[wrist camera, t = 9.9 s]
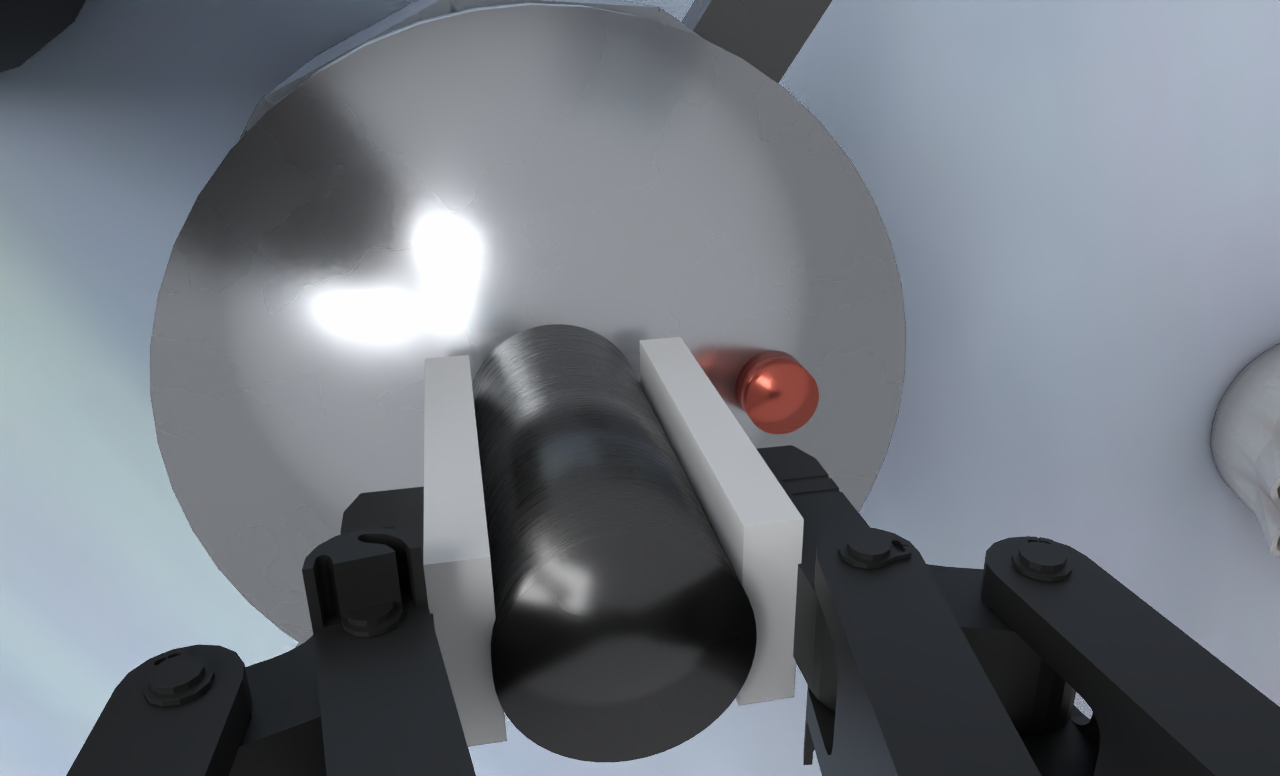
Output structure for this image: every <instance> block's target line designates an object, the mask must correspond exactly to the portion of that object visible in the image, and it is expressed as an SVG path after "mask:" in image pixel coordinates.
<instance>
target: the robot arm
mask: <svg viewBox="0 0 1280 776" xmlns="http://www.w3.org/2000/svg"><path fill="white" fill-rule="evenodd" d="M640 384H641V386H642V388H643V390H644V392H645V394H646V396H647V398H648V400H649V402H650V404H651V406H652V408H653V410H654V412H655V414H656V416H657V418H658V420H659V422H660V424H661V426H662V428H663V430H664V432H665V434H666V436H667V438H668V440H669V442H670V444H671V446H672V448H673V450H674V452H675V454H676V456H677V458H678V460H679V462H680V464H681V466H682V468H683V470H684V472H685V473H686V475H687V477H688V479H689V481H690V483H691V485H692V487H693V489H694V491H695V493H696V495H697V497H698V499H699V501H700V503H701V505H702V507H703V509H704V511H705V513H706V515H707V517H708V519H709V521H710V523H711V525H712V527H713V529H714V531H715V533H716V535H717V537H718V539H719V541H720V543H721V545H722V547H723V549H724V551H725V553H726V555H727V557H728V559H729V561H730V563H731V565H732V567H733V569H734V570H735V572H736V574H737V576H738V578H739V580H740V582H741V584H742V586H743V588H744V590H745V592H746V594H747V596H748V598H749V601H750V603H751V606H752V609H753V612H754V616H755V621H756V631H757V642H756V651H755V656H754V660H753V663H752V667H751V670H750V672H749V674H748V677H747V679H746V681H745V683H744V685H743V687H742V688H741V690H740V692H739V694H738V695H737V696H736V700H737V702H738V705H746V704H752V703H759V702H766V701H772V700H779V699H786V698H792V697H794V687H795V669H796V663H797V665H798V667H799V669H800V671H801V672H802V674H803V676H804V678H805V680H806V682H807V684H808V691H807V707H806V723H805V739H804V765H812V759H813V751H814V750H815V751H816V755H817V759H818V762H819V766H820V770H821V773H822V776H1280V707H1279V706H1278V705H1276V704H1275V703H1274V702H1272V701H1271V700H1270V699H1269V698H1267V697H1266V696H1265V695H1263V694H1262V693H1261V692H1260V691H1258V690H1257V689H1256V688H1254V687H1253V686H1252V685H1251V684H1249V683H1248V682H1247V681H1246V680H1244V679H1243V678H1242V677H1240V676H1239V675H1238V674H1237V673H1235V672H1234V671H1233V670H1231V669H1230V668H1229V667H1228V666H1226V665H1225V664H1224V663H1222V662H1221V661H1220V660H1219V659H1217V658H1216V657H1215V656H1213V655H1212V654H1211V653H1210V652H1208V651H1207V650H1206V649H1205V648H1203V647H1202V646H1201V645H1199V644H1198V643H1197V642H1196V641H1194V640H1193V639H1192V638H1190V637H1189V636H1188V635H1187V634H1185V633H1184V632H1183V631H1181V630H1180V629H1179V628H1178V627H1176V626H1175V625H1174V624H1173V623H1171V622H1170V621H1169V620H1167V619H1166V618H1165V617H1164V616H1162V615H1161V614H1160V613H1158V612H1157V611H1156V610H1155V609H1153V608H1152V607H1151V606H1149V605H1148V604H1147V603H1146V602H1144V601H1143V600H1142V599H1140V598H1139V597H1138V596H1137V595H1135V594H1134V593H1133V592H1132V591H1130V590H1129V589H1128V588H1126V587H1125V586H1124V585H1123V584H1121V583H1120V582H1119V581H1117V580H1116V579H1115V578H1114V577H1112V576H1111V575H1110V574H1108V573H1107V572H1106V571H1105V570H1103V569H1102V568H1101V567H1099V566H1098V565H1097V564H1096V563H1094V562H1093V561H1092V560H1091V559H1089V558H1088V557H1087V556H1085V555H1083V554H1082V553H1080V552H1078V551H1077V550H1075V549H1073V548H1071V547H1070V546H1067V545H1064V544H1061V543H1058V542H1055V541H1053V540H1050V539H1046V538H1041V537H1040V538H1037V537H1029V536H1027V537H1014V538H1007V539H1004V540H1001V541H998V542H996V543H994V544H993V545H992V546H991V547H990V548H989V549H988V550H987V551H986V557H985V564H984V569H969V568H955V567H943V566H936V565H929V564H925V562H924V560H923V558H922V556H921V554H920V553H919V551H918V550H917V549H916V548H915V547H914V546H913V545H912V544H911V543H910V542H909V541H907V540H905V539H904V538H902V537H900V536H898V535H896V534H894V533H891V532H887V531H883V530H880V529H876V528H870V527H869V526H868V524H867V523H866V522H865V520H864V519H863V518H862V517H861V515H860V514H859V513H858V512H857V510H856V509H855V508H854V506H853V505H852V504H851V503H850V501H849V500H848V499H847V498H846V496H845V495H844V494H843V492H840V491H839V487H838V486H837V485H836V483H835V482H834V481H833V480H832V478H829V475H828V473H827V472H826V471H825V469H824V468H823V467H822V466H821V464H820V463H819V462H818V461H817V459H816V458H814V457H813V456H811V455H809V454H807V453H805V452H804V451H802V450H800V449H798V448H796V447H795V446H793V445H786V446H777V447H767V448H758V449H756V448H755V446H754V445H753V443H752V442H751V440H750V439H749V437H748V436H747V434H746V433H745V432H744V430H743V429H742V427H741V426H740V424H739V423H738V421H737V420H736V418H735V417H734V415H733V414H732V412H731V411H730V409H729V408H728V406H727V405H726V403H725V402H724V400H723V399H722V398H721V396H720V395H719V393H718V392H717V390H716V389H715V387H714V386H713V384H712V383H711V381H710V380H709V378H708V377H707V375H706V374H705V372H704V371H703V369H702V368H701V366H700V365H699V363H698V362H697V361H696V359H695V358H694V356H693V355H692V353H691V352H690V350H689V349H688V347H687V346H686V344H685V343H684V341H683V340H682V338H681V337H674V338H662V339H650V340H640ZM340 534H341V535H337V536H335V537H333V538H331V539H329V540H327V541H325V542H323V543H322V544H320V545H318V546H317V547H316V548H315V549H314V550H313V551H312V552H311V553H310V554H309V555H308V556H307V557H306V558H305V561H304V564H303V568H302V574H303V580H304V585H305V591H306V597H307V602H308V608H309V613H310V619H311V624H312V630H313V636H311V637H310V638H309V639H308V640H307V641H306V642H304V643H303V644H301V645H299V646H297V647H296V648H294V649H292V650H291V651H289V652H286V653H284V654H282V655H279V656H277V657H274V658H272V659H269V660H266V661H263V662H260V663H257V664H254V665H251V666H248V667H245V665H244V663H243V661H242V660H241V659H240V657H239V656H238V654H237V653H236V652H234V651H232V650H229V649H227V648H224V647H222V646H215V645H194V646H188V647H183V648H178V649H173V650H170V651H168V652H165V653H162V654H160V655H158V656H156V657H153V658H151V659H149V660H147V661H146V662H144V663H143V664H141V665H140V666H138V667H137V668H135V669H134V670H132V671H131V672H129V673H128V674H127V675H126V677H125V678H124V679H123V680H122V681H121V682H120V684H119V685H118V686H117V687H116V688H115V690H114V692H113V693H112V695H111V697H110V699H109V701H108V702H107V704H106V706H105V708H104V709H103V711H102V713H101V715H100V717H99V718H98V720H97V722H96V724H95V726H94V727H93V729H92V731H91V733H90V734H89V736H88V738H87V740H86V742H85V743H84V745H83V747H82V749H81V750H80V752H79V754H78V756H77V758H76V759H75V761H74V763H73V765H72V767H71V768H70V770H69V772H68V774H67V775H66V776H476V775H475V771H474V768H473V764H472V761H471V757H470V753H469V750H468V747H469V746H476V745H483V744H489V743H496V742H502V741H507V738H506V727H505V715H504V710H503V708H502V706H501V705H500V702H499V700H498V697H497V694H496V691H495V687H494V681H493V675H492V664H491V637H492V630H493V626H494V622H495V619H496V615H495V604H494V593H493V582H492V571H491V560H490V550H489V540H488V531H487V522H486V512H485V503H484V493H483V484H482V474H481V465H480V455H479V446H478V436H477V427H476V418H475V408H474V399H473V389H472V380H471V370H470V361H469V355H462V356H450V357H438V358H427V359H425V404H424V486H423V487H414V488H404V489H395V490H386V491H376V492H367V493H360V494H359V496H358V497H357V498H356V499H355V500H354V501H353V502H352V503H351V504H350V505H349V507H348V508H347V509H346V510H345V511H344V512H343V518H342V525H341V531H340ZM1076 692H1077V693H1078V694H1079V695H1080V696H1081V697H1082V698H1083V699H1084V700H1085V701H1086V702H1087V704H1088V705H1089V706H1090V707H1091V709H1092V711H1093V715H1092V718H1091V720H1090V719H1089V718H1087V717H1086V716H1085V715H1083V714H1082V713H1081V712H1080V711H1079V710H1078V709H1077V708H1076V707H1075V706H1074V705H1073V704H1074V699H1075V694H1076Z"/></svg>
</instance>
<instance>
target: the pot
mask: <svg viewBox="0 0 1280 776" xmlns="http://www.w3.org/2000/svg"><path fill="white" fill-rule="evenodd" d="M831 1H832V0H695V1H694V3H693V4H692V6H691V8H690V9H689V11H688V13H687V14H686V16H685V17H684V19H683V21H682V22H680V21H678V20H677V19H676V18H674V17H673V16H671V15H670V14H669V13H667V12H666V11H665V10H663V9H662V8H659V7H654V6H649V5H643V4H637V3H632V2H626V1H621V0H416V1H414V2H412V3H411V4H409V5H407V6H405V7H403V8H402V9H400V10H398V11H396V12H394V13H393V14H391V15H389V16H387V17H385V18H384V19H382V20H380V21H378V22H376V23H375V24H373V25H371V26H369V27H367V28H366V29H364V30H362V31H360V32H358V33H356V34H355V35H353V36H351V37H349V38H347V39H346V40H344V41H342V42H340V43H338V44H337V45H335V46H333V47H331V48H329V49H328V50H326V51H324V52H322V53H320V54H319V55H317V56H315V57H314V58H313V59H311V60H310V61H309V62H307V63H306V64H305V65H304V66H302V67H301V68H300V69H299V70H297V71H296V72H295V73H293V74H292V75H291V76H290V77H288V78H287V79H286V80H285V81H283V82H282V83H281V84H279V85H278V86H277V87H276V88H274V89H273V90H272V91H271V92H269V93H268V94H267V95H265V96H264V97H263V98H262V99H261V100H260V101H259V102H258V104H257V106H256V108H255V110H254V112H253V114H252V116H251V118H250V120H249V122H248V123H247V125H246V127H245V129H244V131H243V133H242V135H241V137H240V139H239V141H240V140H241V139H242V138H243V137H244V136H245V134H246V133H247V132H248V131H249V130H250V129H251V128H252V127H253V126H254V125H255V124H256V123H257V122H258V121H259V120H260V119H261V118H262V117H263V115H264V114H265V113H266V112H267V111H268V110H269V109H270V108H272V107H273V106H274V105H275V104H276V103H277V102H278V101H280V100H281V99H282V98H283V97H285V96H286V95H287V94H289V93H290V92H291V91H292V90H294V89H295V88H296V87H297V86H299V85H300V84H301V83H303V82H304V81H305V80H306V79H308V78H309V77H310V76H311V75H313V74H314V73H315V72H317V71H318V70H319V69H321V68H322V67H324V66H326V65H328V64H329V63H331V62H333V61H334V60H336V59H338V58H340V57H341V56H343V55H345V54H347V53H348V52H350V51H352V50H354V49H355V48H357V47H359V46H361V45H362V44H364V43H366V42H368V41H370V40H373V39H375V38H378V37H380V36H383V35H385V34H388V33H390V32H393V31H395V30H398V29H400V28H403V27H405V26H408V25H410V24H413V23H415V22H418V21H421V20H425V19H430V18H434V17H438V16H442V15H446V14H450V13H454V12H458V11H463V10H467V9H471V8H479V7H489V6H499V5H510V4H520V3H542V4H565V5H582V6H588V7H593V8H599V9H604V10H609V11H615V12H620V13H625V14H631V15H635V16H640V17H644V18H647V19H650V20H653V21H656V22H659V23H662V24H665V25H667V26H670V27H673V28H676V29H679V30H682V31H685V32H688V33H691V34H694V35H697V36H699V37H701V38H703V39H704V40H706V41H708V42H710V43H712V44H714V45H716V46H718V47H720V48H722V49H724V50H726V51H728V52H730V53H732V54H734V55H736V56H738V57H740V58H742V59H744V60H745V61H746V62H748V63H749V64H751V65H752V66H754V67H755V68H756V69H758V70H759V71H761V72H762V73H764V74H765V75H766V76H768V77H769V78H771V79H772V80H774V81H775V82H776V83H779V81H780V80H781V78H782V77H783V75H784V74H785V72H786V70H787V69H788V67H789V66H790V64H791V63H792V61H793V60H794V58H795V57H796V55H797V54H798V52H799V51H800V49H801V47H802V46H803V44H804V43H805V41H806V40H807V38H808V37H809V35H810V34H811V32H812V31H813V29H814V28H815V26H816V24H817V23H818V21H819V20H820V18H821V17H822V15H823V14H824V12H825V11H826V9H827V8H828V6H829V5H830V3H831ZM239 141H238V142H239ZM299 645H301V643H300V642H299V643H298V645H297V646H299ZM297 646H296V647H297Z"/></svg>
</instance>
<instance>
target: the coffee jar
mask: <svg viewBox="0 0 1280 776" xmlns="http://www.w3.org/2000/svg"><path fill="white" fill-rule="evenodd" d="M85 1H86V0H0V72H3V71H6V70H9V69H12V68H15V67H19V66H20V65H22V64H23V63H24V62H25V61H26V60H28V59H29V58H30V57H31V56H33V55H34V54H35V53H36V52H37V51H39V50H40V49H41V48H42V47H44V46H45V45H46V44H47V43H49V42H50V41H51V40H52V39H53V38H55V37H56V36H57V35H58V34H60V33H61V32H62V31H63V30H64V29H66V28H67V27H68V26H69V25H71V24H72V23H73V22H74V21H75V19H76V17H77V15H78V13H79V12H80V10H81V8H82V6H83V4H84V3H85Z"/></svg>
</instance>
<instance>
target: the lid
mask: <svg viewBox="0 0 1280 776" xmlns="http://www.w3.org/2000/svg"><path fill="white" fill-rule="evenodd" d="M674 337H681V338H682V340H683V341H684V343H685V344H686V346H687V347H688V349H689V350H690V352H691V353H692V355H693V356H694V358H695V359H696V361H697V362H698V363H699V365H700V366H701V368H702V369H703V371H704V372H705V374H706V375H707V377H708V378H709V380H710V381H711V383H712V384H713V386H714V387H715V389H716V390H717V392H718V393H719V395H720V396H721V398H722V399H723V400H724V402H725V403H726V405H727V406H728V408H729V409H730V411H731V412H732V414H733V415H734V417H735V418H736V420H737V421H738V423H739V424H740V426H741V427H742V429H743V430H744V432H745V433H746V434H747V436H748V437H749V439H750V440H751V442H752V443H753V445H754V446H755V448H756V449H758V448H767V447H777V446H786V445H793V446H795V447H796V448H798V449H800V450H802V451H804V452H805V453H807V454H809V455H811V456H813V457H814V458H816V459H817V461H818V462H819V463H820V464H821V466H822V467H823V468H824V469H825V471H826V472H827V473H828V475H829V478H832V480H833V481H834V482H835V483H836V485H837V486H838V487H839V491H840V492H843V494H844V495H845V496H846V498H847V499H848V500H849V501H850V503H851V504H852V505H853V506H854V508H855V509H856V510H857V512H859V510H860V508H861V507H862V505H863V503H864V502H865V500H866V498H867V496H868V495H869V493H870V491H871V488H872V486H873V484H874V481H875V479H876V477H877V474H878V472H879V470H880V468H881V465H882V463H883V461H884V458H885V456H886V453H887V450H888V447H889V443H890V440H891V436H892V433H893V429H894V426H895V423H896V419H897V416H898V411H899V405H900V399H901V393H902V386H903V380H904V374H905V349H906V323H905V314H904V304H903V295H902V286H901V281H900V277H899V273H898V269H897V265H896V261H895V257H894V253H893V249H892V245H891V241H890V239H889V237H888V234H887V232H886V229H885V227H884V224H883V222H882V219H881V217H880V214H879V212H878V209H877V207H876V204H875V202H874V200H873V198H872V196H871V194H870V193H869V191H868V189H867V188H866V186H865V184H864V182H863V181H862V179H861V177H860V176H859V174H858V172H857V170H856V169H855V167H854V165H853V163H852V162H851V160H850V159H849V157H848V156H847V155H846V154H845V152H844V151H843V150H842V149H841V147H840V146H839V145H838V144H837V142H836V141H835V140H834V139H833V137H832V136H831V135H830V133H829V132H828V131H827V130H826V128H825V127H824V126H823V125H822V123H821V122H820V121H819V120H818V119H817V118H816V117H815V116H814V115H812V114H811V113H810V112H809V111H808V110H807V109H806V108H805V107H804V106H803V105H802V104H801V103H800V102H799V101H798V100H797V99H795V98H794V97H793V96H792V95H791V94H790V93H789V92H788V91H787V90H786V89H785V88H784V87H782V86H781V85H779V84H778V83H776V82H775V81H774V80H772V79H771V78H769V77H768V76H766V75H765V74H764V73H762V72H761V71H759V70H758V69H756V68H755V67H754V66H752V65H751V64H749V63H748V62H746V61H745V60H744V59H742V58H740V57H738V56H736V55H734V54H732V53H730V52H728V51H726V50H724V49H722V48H720V47H718V46H716V45H714V44H712V43H710V42H708V41H706V40H704V39H703V38H701V37H699V36H697V35H694V34H691V33H688V32H685V31H682V30H679V29H676V28H673V27H670V26H667V25H665V24H662V23H659V22H656V21H653V20H650V19H647V18H644V17H640V16H635V15H631V14H625V13H620V12H615V11H609V10H604V9H599V8H593V7H588V6H582V5H565V4H542V3H520V4H510V5H499V6H489V7H479V8H471V9H467V10H463V11H458V12H454V13H450V14H446V15H442V16H438V17H434V18H430V19H425V20H421V21H418V22H415V23H413V24H410V25H408V26H405V27H403V28H400V29H398V30H395V31H393V32H390V33H388V34H385V35H383V36H380V37H378V38H375V39H373V40H370V41H368V42H366V43H364V44H362V45H361V46H359V47H357V48H355V49H354V50H352V51H350V52H348V53H347V54H345V55H343V56H341V57H340V58H338V59H336V60H334V61H333V62H331V63H329V64H328V65H326V66H324V67H322V68H321V69H319V70H318V71H317V72H315V73H314V74H313V75H311V76H310V77H309V78H308V79H306V80H305V81H304V82H303V83H301V84H300V85H299V86H297V87H296V88H295V89H294V90H292V91H291V92H290V93H289V94H287V95H286V96H285V97H283V98H282V99H281V100H280V101H278V102H277V103H276V104H275V105H274V106H273V107H272V108H270V109H269V110H268V111H267V112H266V113H265V114H264V115H263V117H262V118H261V119H260V120H259V121H258V122H257V123H256V124H255V125H254V126H253V127H252V128H251V129H250V130H249V131H248V132H247V133H246V134H245V136H244V137H243V138H242V139H241V140H240V141H239V142H238V143H237V144H236V145H235V146H234V147H233V148H232V149H231V150H230V151H229V153H228V154H227V156H226V157H225V159H224V160H223V161H222V163H221V164H220V166H219V167H218V169H217V170H216V171H215V173H214V174H213V176H212V177H211V179H210V180H209V181H208V183H207V184H206V186H205V187H204V189H203V190H202V191H201V193H200V194H199V196H198V197H197V199H196V201H195V203H194V205H193V207H192V210H191V212H190V214H189V216H188V218H187V220H186V222H185V224H184V226H183V228H182V230H181V232H180V234H179V236H178V238H177V240H176V242H175V244H174V246H173V250H172V253H171V256H170V259H169V262H168V265H167V269H166V272H165V275H164V278H163V281H162V284H161V288H160V291H159V294H158V299H157V306H156V312H155V319H154V326H153V332H152V339H151V345H150V372H151V401H152V408H153V414H154V421H155V427H156V433H157V440H158V445H159V448H160V451H161V454H162V457H163V461H164V464H165V467H166V470H167V473H168V476H169V480H170V483H171V486H172V489H173V491H174V493H175V495H176V497H177V499H178V501H179V503H180V505H181V507H182V509H183V512H184V514H185V516H186V518H187V520H188V522H189V524H190V526H191V528H192V530H193V532H194V533H195V535H196V536H197V538H198V539H199V541H200V542H201V544H202V545H203V546H204V548H205V549H206V551H207V552H208V554H209V555H210V557H211V558H212V560H213V561H214V563H215V564H216V566H217V567H218V569H219V570H220V571H221V572H222V573H223V574H224V575H225V576H226V578H227V579H228V580H229V581H230V582H231V583H232V584H233V585H234V586H235V588H236V589H237V590H238V591H239V592H240V593H241V594H242V595H243V596H244V598H245V599H246V600H247V601H248V602H249V603H250V604H251V605H252V606H254V607H255V608H256V609H257V610H258V611H259V612H261V613H262V614H263V615H264V616H265V617H267V618H268V619H269V620H270V621H271V622H272V623H274V624H275V625H276V626H277V627H278V628H279V629H281V630H282V631H283V632H284V633H286V634H287V635H289V636H291V637H292V638H294V639H295V640H297V641H298V642H300V643H301V644H303V643H304V642H306V641H307V640H308V639H309V638H310V637H311V636H313V630H312V624H311V619H310V613H309V608H308V602H307V597H306V591H305V585H304V580H303V574H302V568H303V564H304V561H305V558H306V557H307V556H308V555H309V554H310V553H311V552H312V551H313V550H314V549H315V548H316V547H317V546H318V545H320V544H322V543H323V542H325V541H327V540H329V539H331V538H333V537H335V536H337V535H341V534H340V531H341V525H342V518H343V512H344V511H345V510H346V509H347V508H348V507H349V505H350V504H351V503H352V502H353V501H354V500H355V499H356V498H357V497H358V496H359V494H360V493H367V492H376V491H386V490H395V489H404V488H414V487H423V486H424V404H425V359H427V358H438V357H450V356H462V355H469V361H470V370H471V380H472V389H473V399H474V408H475V418H476V427H477V436H478V446H479V455H480V465H481V474H482V484H483V493H484V503H485V512H486V522H487V531H488V540H489V550H490V560H491V571H492V582H493V593H494V604H495V615H496V619H495V622H494V626H493V630H492V637H491V664H492V675H493V681H494V687H495V691H496V694H497V697H498V700H499V702H500V705H501V706H502V708H503V710H504V712H505V714H506V715H507V717H508V718H509V719H510V721H511V722H512V723H513V724H514V726H515V727H516V728H517V729H518V730H519V731H520V732H522V733H523V734H524V735H525V736H526V737H527V738H529V739H530V740H532V741H533V742H535V743H536V744H537V745H539V746H541V747H543V748H545V749H547V750H549V751H551V752H553V753H556V754H559V755H562V756H565V757H568V758H573V759H577V760H582V761H591V762H620V761H629V760H635V759H640V758H644V757H648V756H651V755H655V754H658V753H661V752H664V751H666V750H668V749H671V748H673V747H675V746H678V745H680V744H682V743H683V742H685V741H687V740H689V739H691V738H692V737H694V736H695V735H697V734H698V733H700V732H701V731H703V730H704V729H705V728H707V727H708V726H709V725H710V724H711V723H713V722H714V721H715V720H716V719H717V718H718V717H719V716H720V715H721V714H722V713H723V712H724V711H725V710H726V709H727V708H728V707H729V706H730V704H731V703H732V702H733V700H734V699H735V698H736V696H737V695H738V694H739V692H740V690H741V688H742V687H743V685H744V683H745V681H746V679H747V677H748V674H749V672H750V670H751V667H752V663H753V660H754V656H755V651H756V642H757V631H756V621H755V616H754V612H753V609H752V606H751V603H750V601H749V598H748V596H747V594H746V592H745V590H744V588H743V586H742V584H741V582H740V580H739V578H738V576H737V574H736V572H735V570H734V569H733V567H732V565H731V563H730V561H729V559H728V557H727V555H726V553H725V551H724V549H723V547H722V545H721V543H720V541H719V539H718V537H717V535H716V533H715V531H714V529H713V527H712V525H711V523H710V521H709V519H708V517H707V515H706V513H705V511H704V509H703V507H702V505H701V503H700V501H699V499H698V497H697V495H696V493H695V491H694V489H693V487H692V485H691V483H690V481H689V479H688V477H687V475H686V473H685V472H684V470H683V468H682V466H681V464H680V462H679V460H678V458H677V456H676V454H675V452H674V450H673V448H672V446H671V444H670V442H669V440H668V438H667V436H666V434H665V432H664V430H663V428H662V426H661V424H660V422H659V420H658V418H657V416H656V414H655V412H654V410H653V408H652V406H651V404H650V402H649V400H648V398H647V396H646V394H645V392H644V390H643V388H642V386H641V384H640V340H650V339H662V338H674Z"/></svg>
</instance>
